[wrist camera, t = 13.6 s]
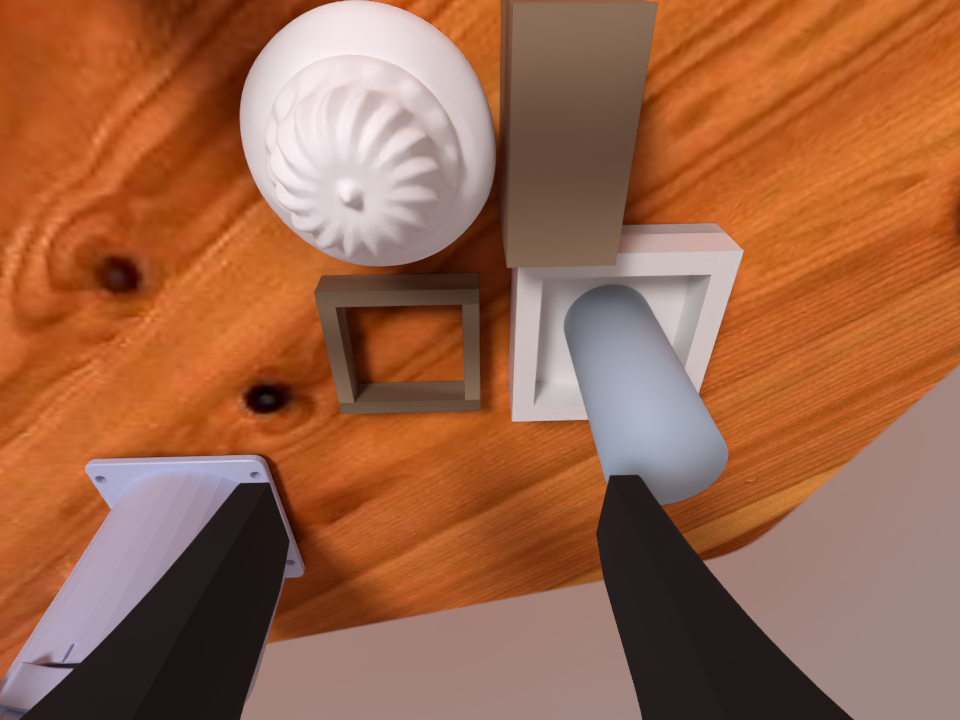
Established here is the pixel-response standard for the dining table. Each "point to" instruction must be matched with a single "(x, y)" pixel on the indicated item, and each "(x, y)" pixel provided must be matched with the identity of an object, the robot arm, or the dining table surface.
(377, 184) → the muffin
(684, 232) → the dish
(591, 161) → the block
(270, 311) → the dining table surface
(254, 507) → the robot arm
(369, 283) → the socket
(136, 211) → the dining table surface
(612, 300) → the dowel
